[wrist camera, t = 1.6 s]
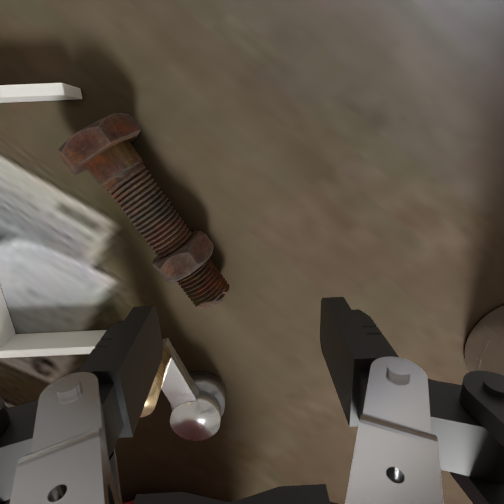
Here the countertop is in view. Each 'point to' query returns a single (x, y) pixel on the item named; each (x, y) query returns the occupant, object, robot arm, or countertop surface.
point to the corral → (3, 334)
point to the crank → (183, 399)
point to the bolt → (146, 206)
